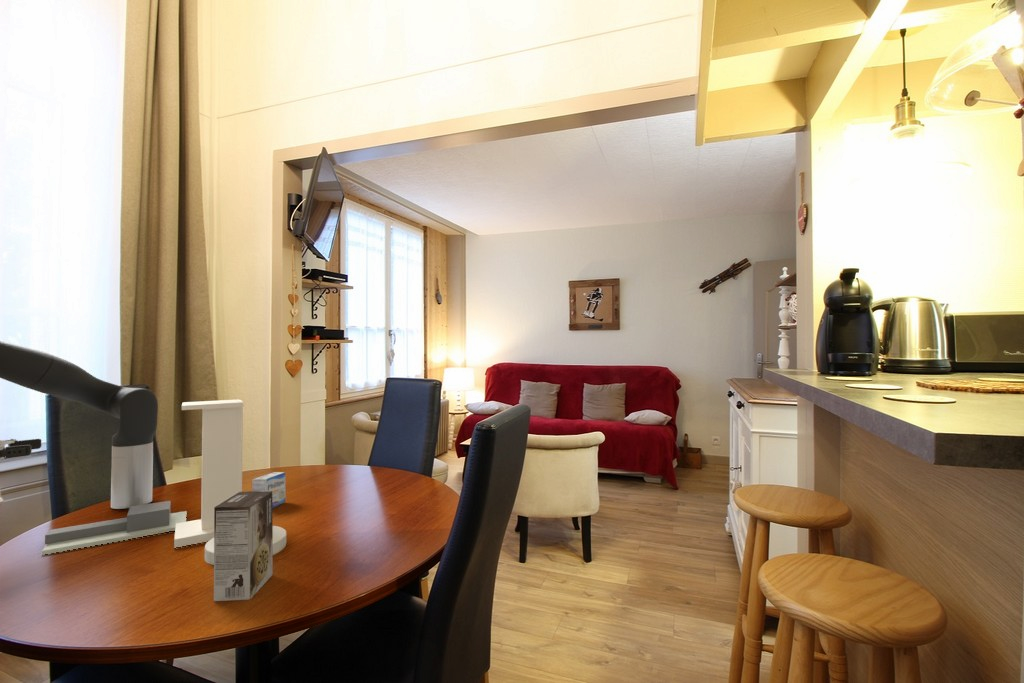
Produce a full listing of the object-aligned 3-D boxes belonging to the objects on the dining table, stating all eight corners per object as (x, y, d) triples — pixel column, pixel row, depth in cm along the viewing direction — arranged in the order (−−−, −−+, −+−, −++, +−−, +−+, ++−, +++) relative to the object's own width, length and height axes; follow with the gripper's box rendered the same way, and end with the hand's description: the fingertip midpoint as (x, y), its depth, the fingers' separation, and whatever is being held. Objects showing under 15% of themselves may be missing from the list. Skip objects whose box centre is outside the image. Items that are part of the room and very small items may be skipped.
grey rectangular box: (238, 576, 88) (239, 491, 88) (273, 575, 88) (274, 489, 89) (211, 602, 78) (212, 506, 79) (250, 600, 79) (251, 505, 79)
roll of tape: (300, 546, 102) (300, 533, 102) (225, 574, 89) (226, 559, 89) (263, 532, 111) (263, 520, 111) (191, 555, 98) (191, 542, 98)
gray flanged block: (51, 535, 106) (52, 518, 106) (170, 516, 119) (170, 500, 119) (42, 547, 100) (42, 528, 100) (169, 525, 112) (169, 508, 112)
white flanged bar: (175, 531, 111) (177, 402, 112) (243, 519, 119) (244, 398, 120) (174, 548, 101) (175, 406, 102) (247, 534, 109) (248, 402, 110)
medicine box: (266, 511, 125) (266, 479, 125) (251, 510, 126) (252, 478, 126) (285, 502, 133) (286, 472, 133) (272, 501, 133) (272, 471, 134)
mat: (56, 536, 109) (56, 532, 109) (186, 514, 123) (186, 510, 123) (42, 555, 98) (42, 550, 98) (186, 529, 112) (186, 525, 112)
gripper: (-95, 445, 87) (27, 434, 97) (-63, 434, 99) (43, 425, 108) (-95, 485, 87) (28, 469, 97) (-63, 469, 99) (44, 457, 108)
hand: (36, 446), depth 102 cm, fingers open, 8 cm apart
